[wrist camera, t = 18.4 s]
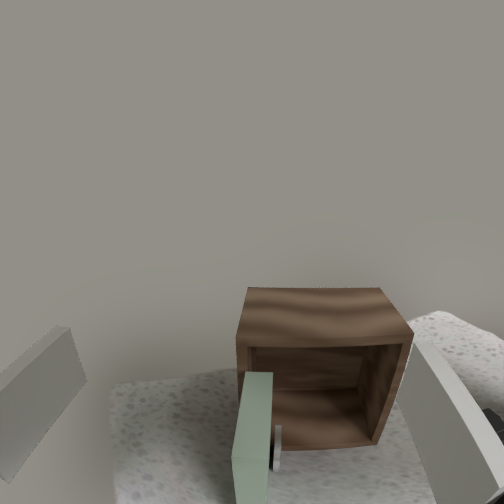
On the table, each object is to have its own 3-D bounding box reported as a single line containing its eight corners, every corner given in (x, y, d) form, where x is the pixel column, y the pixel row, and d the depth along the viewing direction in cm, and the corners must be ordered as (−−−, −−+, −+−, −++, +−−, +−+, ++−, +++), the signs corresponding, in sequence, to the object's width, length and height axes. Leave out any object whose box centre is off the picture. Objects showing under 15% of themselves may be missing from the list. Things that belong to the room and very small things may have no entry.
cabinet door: (248, 453, 36) (245, 371, 31) (269, 454, 35) (273, 372, 31) (239, 522, 24) (231, 457, 20) (264, 524, 24) (269, 459, 20)
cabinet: (247, 389, 50) (245, 287, 45) (359, 388, 48) (379, 287, 43) (235, 469, 33) (226, 357, 27) (382, 463, 31) (427, 352, 26)
